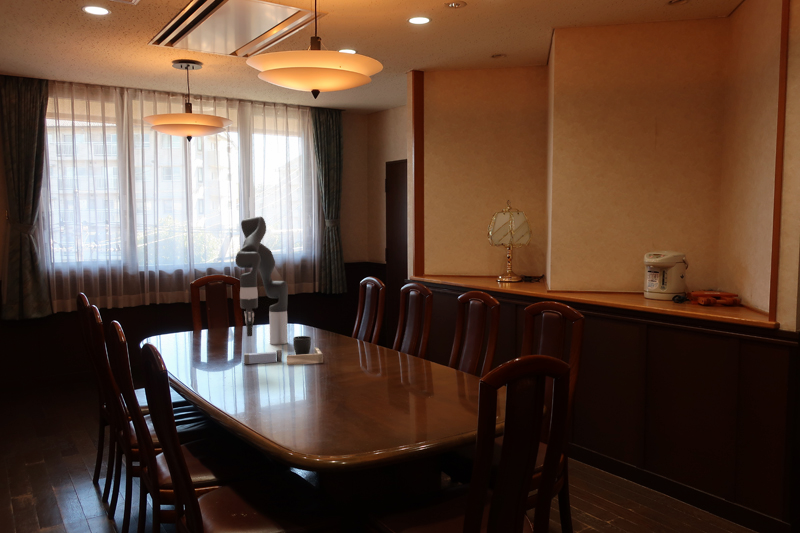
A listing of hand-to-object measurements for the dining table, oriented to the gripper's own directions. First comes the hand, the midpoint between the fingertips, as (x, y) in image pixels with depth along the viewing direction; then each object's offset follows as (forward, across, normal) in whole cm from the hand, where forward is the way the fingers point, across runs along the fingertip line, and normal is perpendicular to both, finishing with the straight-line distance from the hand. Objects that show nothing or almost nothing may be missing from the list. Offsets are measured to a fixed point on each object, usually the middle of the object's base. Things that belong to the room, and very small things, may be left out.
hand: (249, 336), depth 264 cm
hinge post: (+14, -7, +13) cm, 20 cm away
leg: (+14, -7, +5) cm, 16 cm away
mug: (+14, -15, +24) cm, 31 cm away
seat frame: (+14, -7, +24) cm, 29 cm away
